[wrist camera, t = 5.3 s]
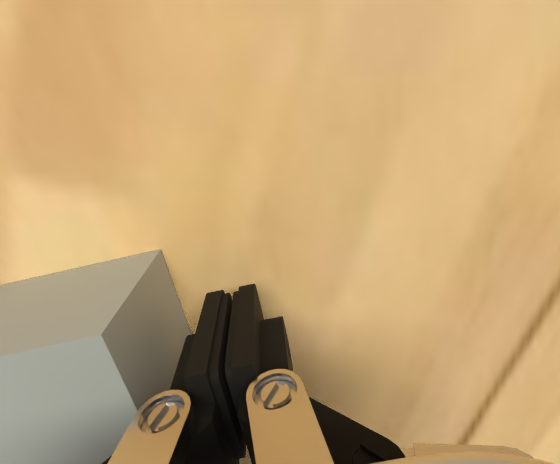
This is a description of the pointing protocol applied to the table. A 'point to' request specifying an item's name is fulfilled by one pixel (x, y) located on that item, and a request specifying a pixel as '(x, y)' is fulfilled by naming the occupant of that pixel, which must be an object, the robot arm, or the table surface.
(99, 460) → the block
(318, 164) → the table surface
